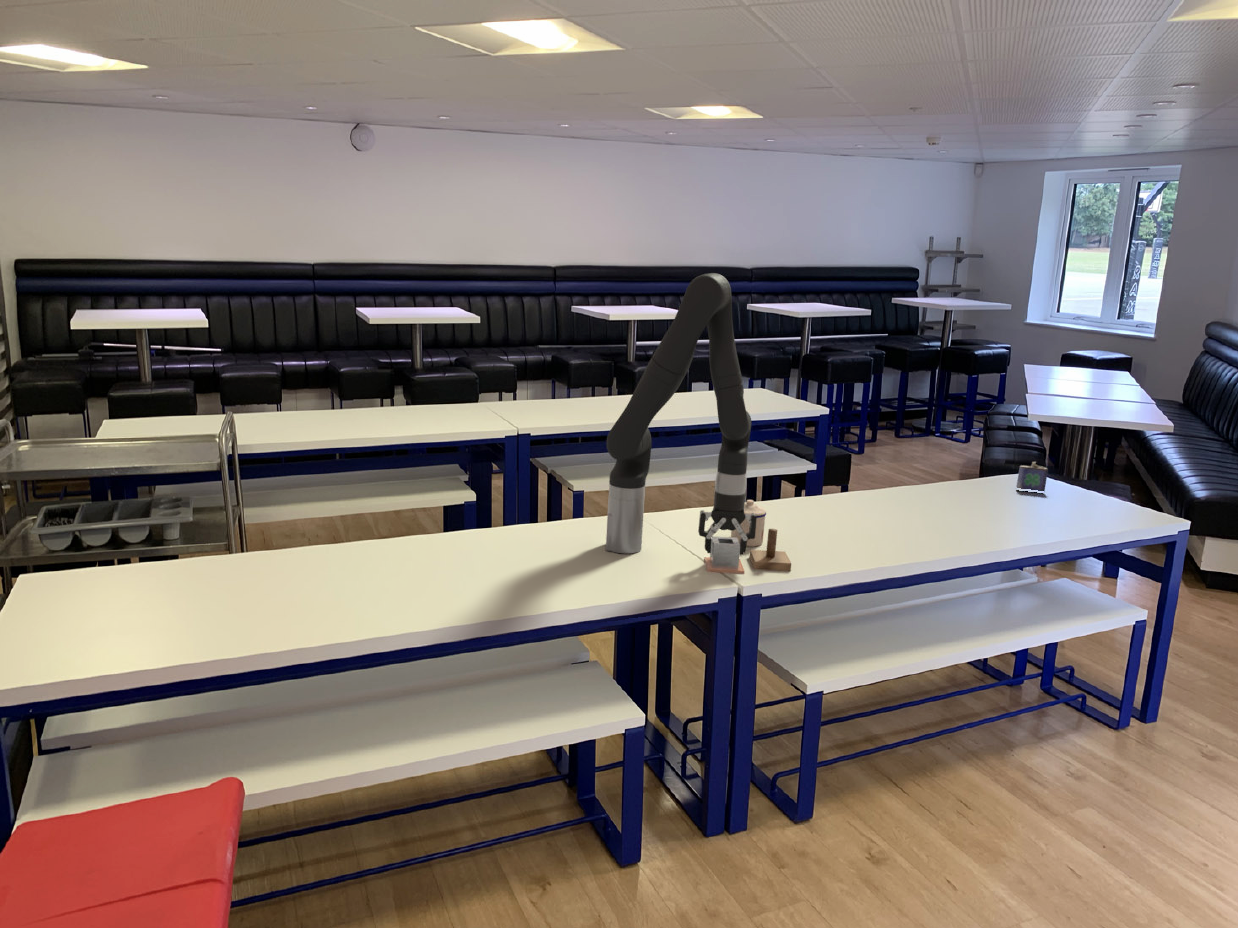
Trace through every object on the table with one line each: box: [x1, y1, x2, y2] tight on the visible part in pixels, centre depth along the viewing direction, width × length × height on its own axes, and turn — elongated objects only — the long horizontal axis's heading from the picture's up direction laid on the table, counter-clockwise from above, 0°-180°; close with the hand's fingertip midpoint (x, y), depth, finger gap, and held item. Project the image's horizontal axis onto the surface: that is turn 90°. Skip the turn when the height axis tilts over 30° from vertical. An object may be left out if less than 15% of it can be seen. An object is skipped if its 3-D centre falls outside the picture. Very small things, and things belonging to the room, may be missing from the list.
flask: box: [1016, 461, 1049, 492], centre depth 321 cm, size 9×3×11 cm, turn 75°
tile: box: [703, 556, 745, 574], centre depth 231 cm, size 9×9×1 cm
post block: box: [749, 528, 792, 572], centre depth 233 cm, size 9×9×9 cm
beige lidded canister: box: [730, 499, 767, 548], centre depth 251 cm, size 12×9×12 cm
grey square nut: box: [709, 535, 740, 569], centre depth 230 cm, size 6×6×6 cm
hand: (725, 553), depth 230 cm, fingers open, 7 cm apart
